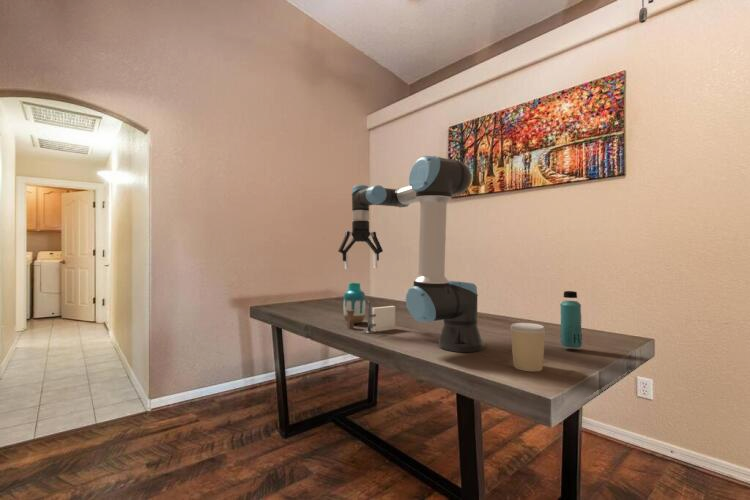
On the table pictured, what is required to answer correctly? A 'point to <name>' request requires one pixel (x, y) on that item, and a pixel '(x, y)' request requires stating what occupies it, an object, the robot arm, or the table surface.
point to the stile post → (350, 319)
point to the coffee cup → (528, 346)
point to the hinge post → (369, 318)
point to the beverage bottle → (571, 322)
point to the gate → (383, 317)
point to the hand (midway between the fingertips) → (361, 268)
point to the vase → (354, 302)
